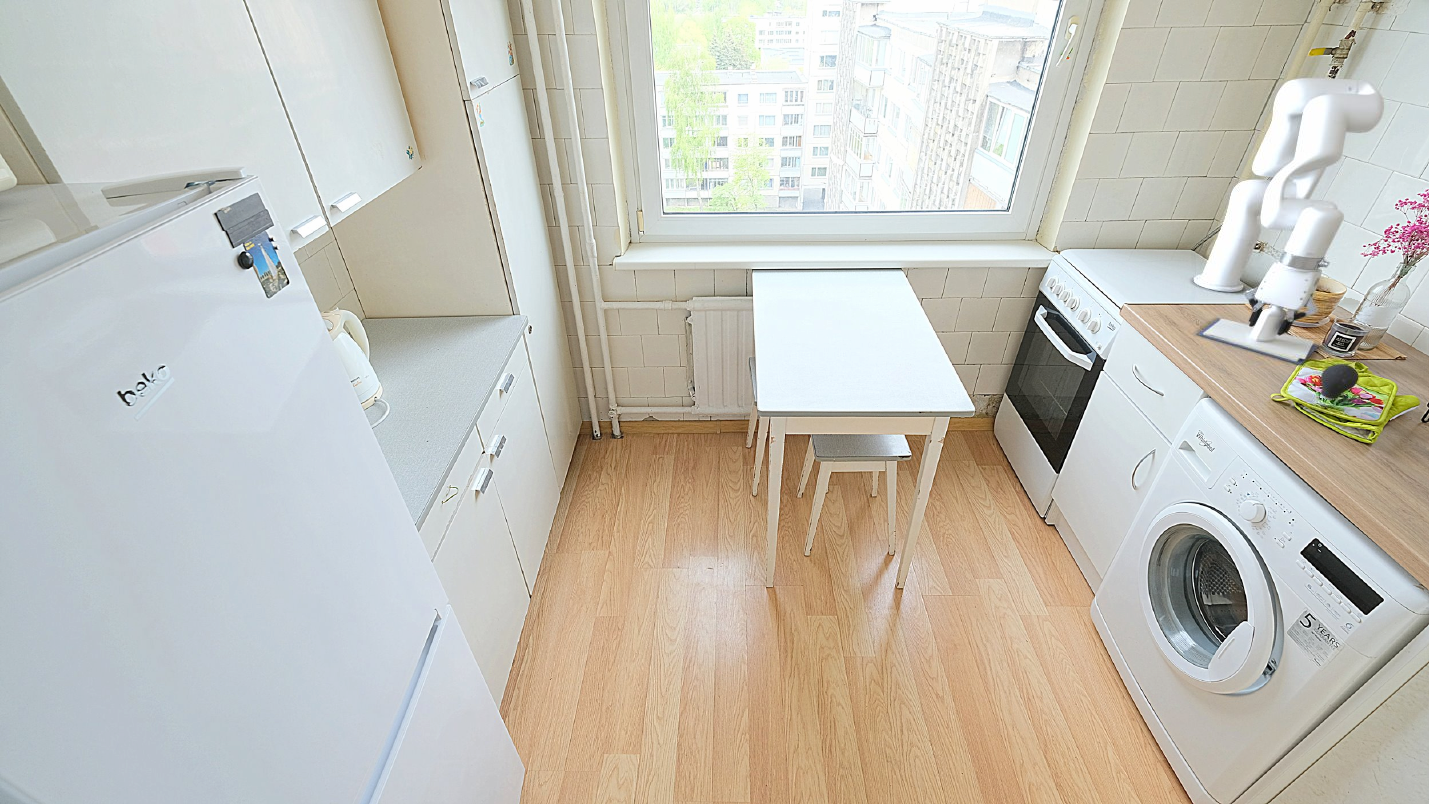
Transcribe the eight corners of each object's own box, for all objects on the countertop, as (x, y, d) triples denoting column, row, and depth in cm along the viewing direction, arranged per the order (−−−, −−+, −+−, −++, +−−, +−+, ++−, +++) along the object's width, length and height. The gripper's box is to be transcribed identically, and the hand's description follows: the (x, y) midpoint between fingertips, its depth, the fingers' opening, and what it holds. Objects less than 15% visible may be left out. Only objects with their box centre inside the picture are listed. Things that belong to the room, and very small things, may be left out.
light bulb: (1299, 399, 140) (1322, 359, 135) (1325, 399, 140) (1349, 359, 134) (1319, 413, 135) (1343, 371, 130) (1346, 413, 135) (1371, 372, 130)
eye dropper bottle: (1277, 344, 161) (1300, 300, 154) (1251, 340, 162) (1272, 296, 156) (1272, 337, 164) (1294, 293, 158) (1246, 333, 166) (1266, 290, 160)
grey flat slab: (1218, 319, 176) (1219, 315, 176) (1318, 346, 162) (1320, 342, 161) (1197, 334, 168) (1198, 331, 167) (1300, 365, 153) (1302, 361, 153)
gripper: (1351, 268, 148) (1313, 338, 157) (1265, 248, 160) (1235, 315, 170) (1338, 274, 145) (1301, 345, 154) (1252, 254, 157) (1221, 321, 166)
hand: (1266, 329), depth 162 cm, fingers open, 5 cm apart
